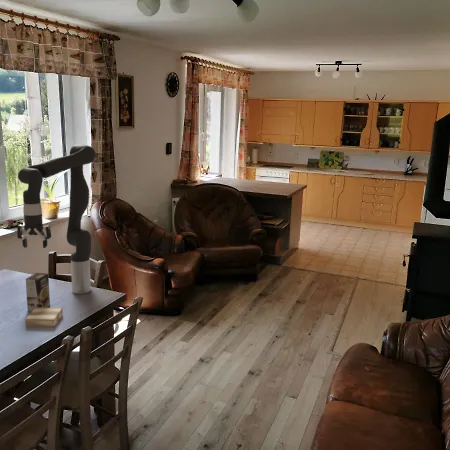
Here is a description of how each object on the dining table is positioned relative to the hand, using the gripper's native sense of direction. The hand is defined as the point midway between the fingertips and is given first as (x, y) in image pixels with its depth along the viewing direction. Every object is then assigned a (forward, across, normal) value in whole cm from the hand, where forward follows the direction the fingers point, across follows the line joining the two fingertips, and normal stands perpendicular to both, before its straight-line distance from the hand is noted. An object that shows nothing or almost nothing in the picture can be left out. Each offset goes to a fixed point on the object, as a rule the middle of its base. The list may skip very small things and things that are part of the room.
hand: (35, 247), depth 205 cm
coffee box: (+30, 0, 0) cm, 30 cm away
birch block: (+30, -7, +13) cm, 34 cm away
